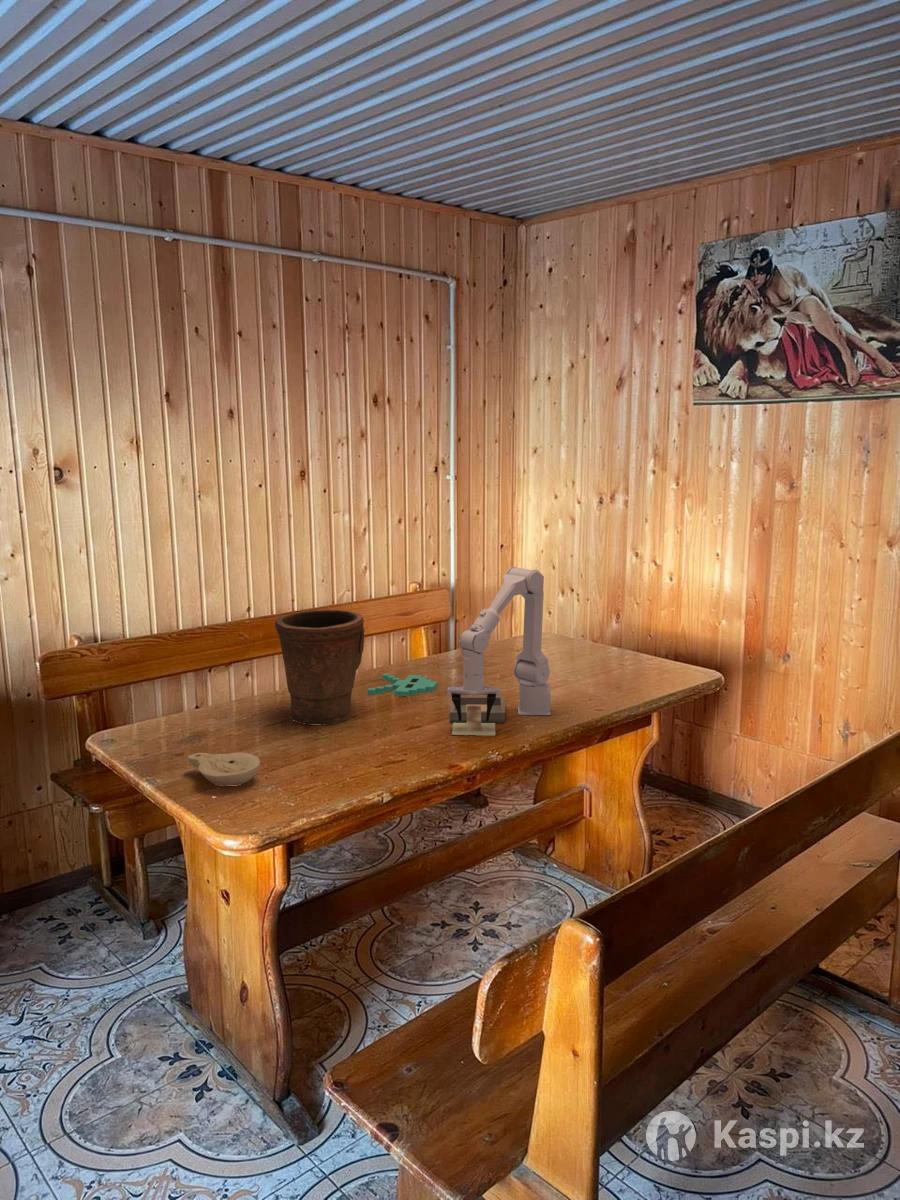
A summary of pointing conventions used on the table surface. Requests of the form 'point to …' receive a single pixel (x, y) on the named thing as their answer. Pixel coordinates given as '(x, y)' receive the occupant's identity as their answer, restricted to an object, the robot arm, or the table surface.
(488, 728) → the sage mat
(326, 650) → the clay pot
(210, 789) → the table surface
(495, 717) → the box
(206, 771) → the oil lamp
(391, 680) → the alien figure
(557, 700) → the table surface
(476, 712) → the brown block
